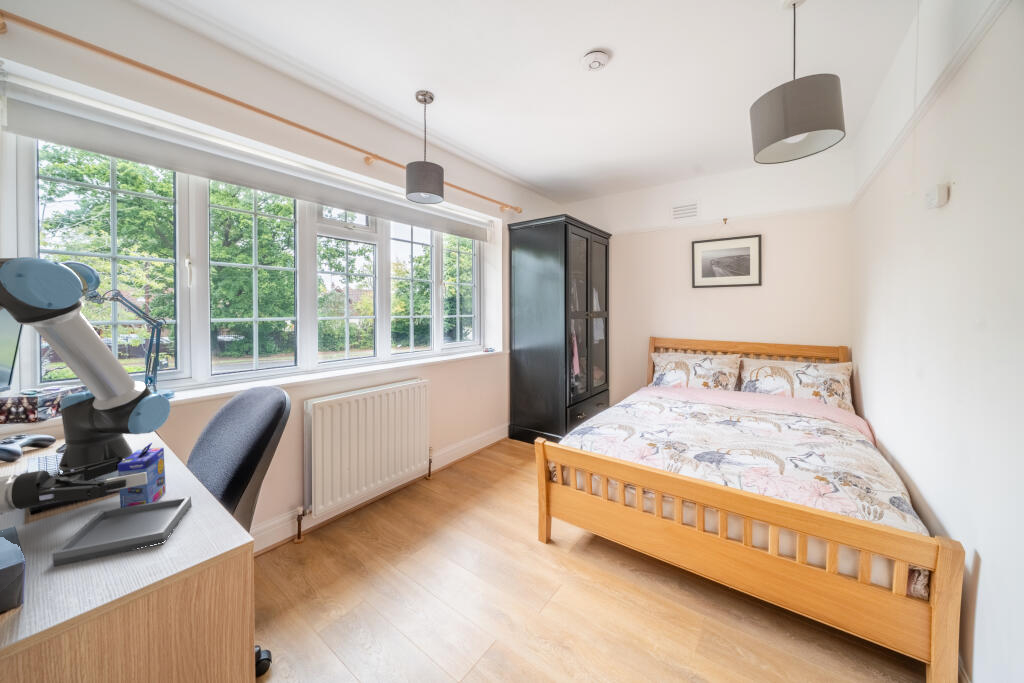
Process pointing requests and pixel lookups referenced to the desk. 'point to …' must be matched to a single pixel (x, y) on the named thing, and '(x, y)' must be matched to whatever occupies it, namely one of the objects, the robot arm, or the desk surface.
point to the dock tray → (123, 530)
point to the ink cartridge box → (155, 470)
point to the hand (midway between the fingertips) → (152, 467)
